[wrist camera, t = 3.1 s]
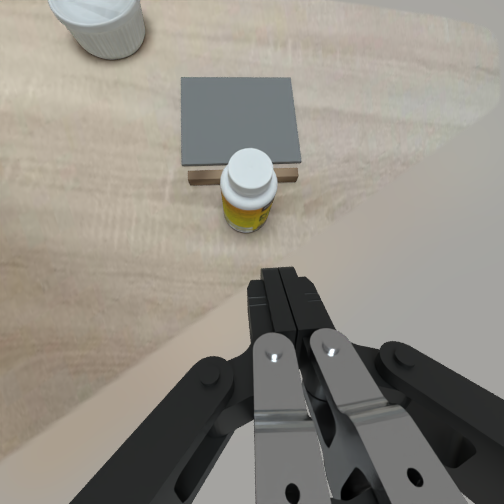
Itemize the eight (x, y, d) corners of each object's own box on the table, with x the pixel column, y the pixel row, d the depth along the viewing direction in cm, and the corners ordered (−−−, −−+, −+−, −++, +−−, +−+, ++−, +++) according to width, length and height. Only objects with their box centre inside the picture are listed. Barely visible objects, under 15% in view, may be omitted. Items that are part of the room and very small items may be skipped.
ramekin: (79, 72, 33) (50, 30, 28) (69, 14, 35) (41, -36, 30) (158, 60, 34) (144, 17, 29) (144, 4, 36) (129, -44, 31)
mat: (182, 166, 31) (181, 164, 30) (181, 79, 34) (181, 77, 33) (300, 163, 32) (301, 161, 31) (289, 80, 35) (290, 77, 34)
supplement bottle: (260, 239, 29) (272, 206, 19) (218, 226, 29) (208, 185, 19) (272, 200, 30) (290, 150, 20) (232, 187, 30) (230, 131, 20)
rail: (190, 185, 30) (187, 179, 29) (190, 176, 30) (187, 170, 29) (295, 181, 31) (298, 176, 30) (294, 173, 31) (297, 167, 30)
